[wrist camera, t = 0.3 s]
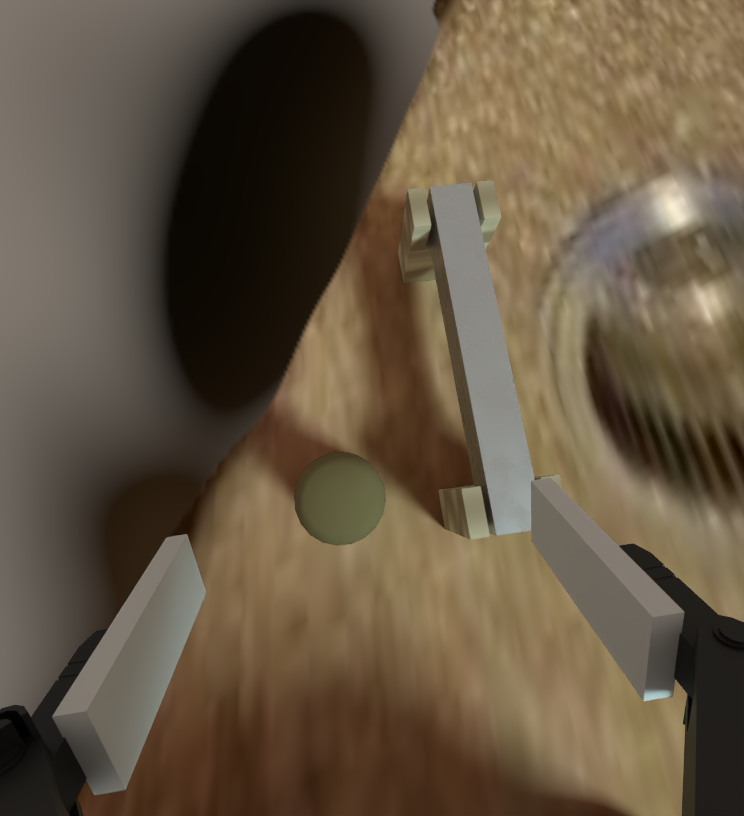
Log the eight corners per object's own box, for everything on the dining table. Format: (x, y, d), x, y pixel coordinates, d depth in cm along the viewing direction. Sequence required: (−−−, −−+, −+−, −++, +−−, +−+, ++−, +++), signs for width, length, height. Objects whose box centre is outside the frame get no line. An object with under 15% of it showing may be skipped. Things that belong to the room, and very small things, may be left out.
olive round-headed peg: (299, 469, 34) (270, 458, 23) (372, 449, 34) (378, 429, 23) (317, 545, 33) (296, 571, 22) (393, 524, 33) (408, 539, 22)
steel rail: (526, 524, 28) (545, 528, 25) (482, 531, 28) (496, 535, 25) (461, 210, 33) (471, 182, 30) (423, 214, 33) (429, 187, 30)
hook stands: (521, 517, 33) (570, 524, 25) (444, 528, 33) (470, 539, 25) (466, 244, 38) (493, 180, 30) (397, 252, 38) (407, 189, 30)
